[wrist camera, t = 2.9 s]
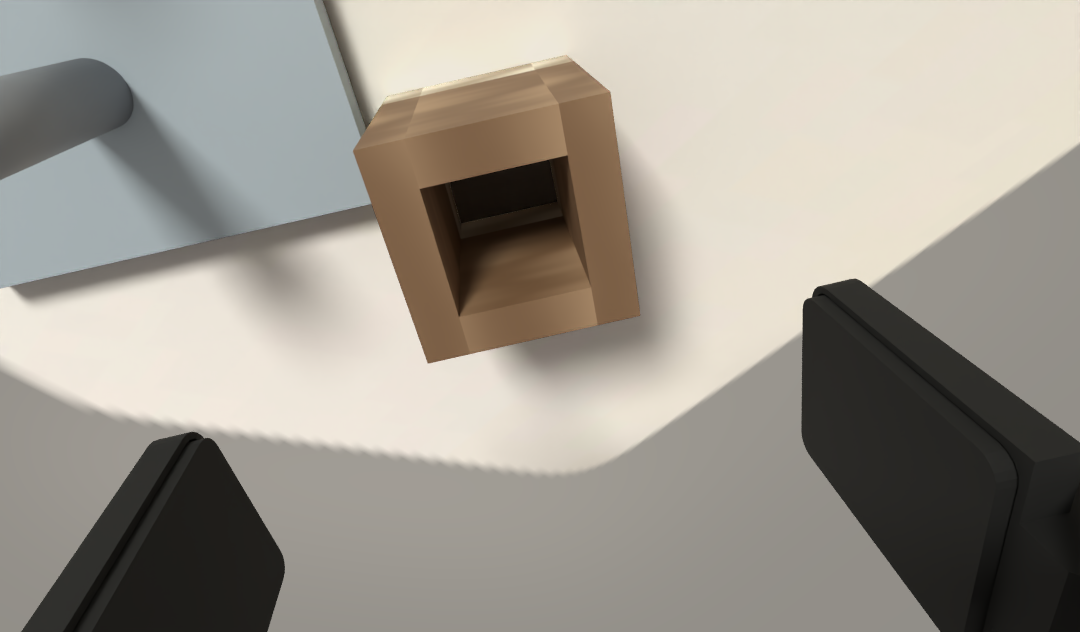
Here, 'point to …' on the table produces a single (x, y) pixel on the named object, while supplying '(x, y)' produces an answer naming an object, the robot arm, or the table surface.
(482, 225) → the sleeve
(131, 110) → the board
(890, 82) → the table surface
